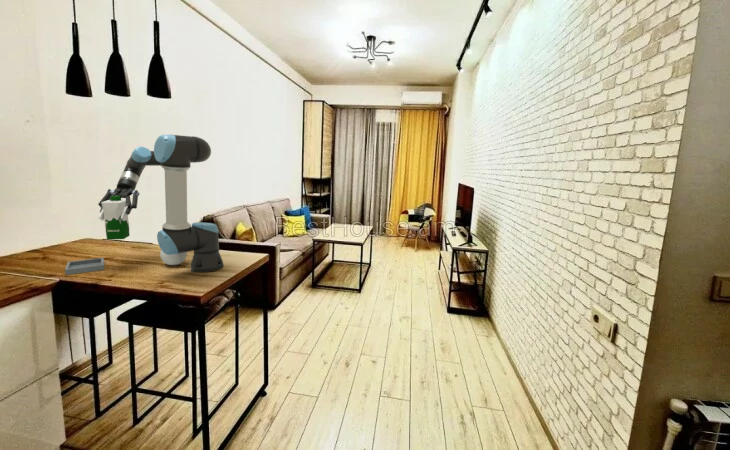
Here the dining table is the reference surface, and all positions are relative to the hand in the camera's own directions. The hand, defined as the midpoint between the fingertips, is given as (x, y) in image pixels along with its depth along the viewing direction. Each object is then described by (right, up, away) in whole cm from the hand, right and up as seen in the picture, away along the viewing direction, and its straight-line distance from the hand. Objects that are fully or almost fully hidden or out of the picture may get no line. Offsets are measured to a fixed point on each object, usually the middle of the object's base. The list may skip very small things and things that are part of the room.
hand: (111, 219), depth 158 cm
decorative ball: (+21, -24, +16) cm, 35 cm away
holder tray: (-17, -24, +6) cm, 30 cm away
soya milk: (-1, -9, +5) cm, 11 cm away
